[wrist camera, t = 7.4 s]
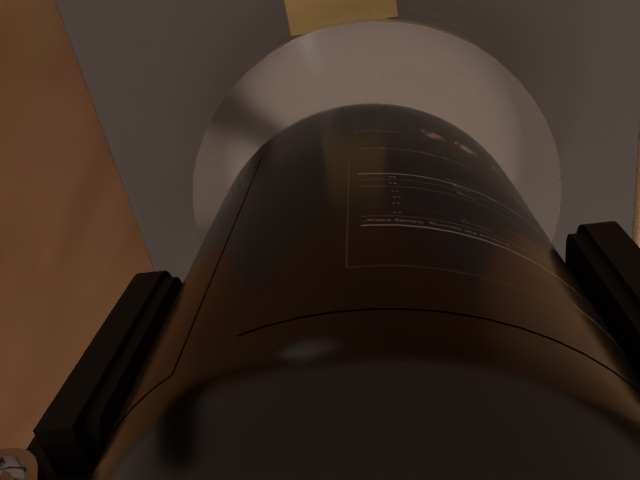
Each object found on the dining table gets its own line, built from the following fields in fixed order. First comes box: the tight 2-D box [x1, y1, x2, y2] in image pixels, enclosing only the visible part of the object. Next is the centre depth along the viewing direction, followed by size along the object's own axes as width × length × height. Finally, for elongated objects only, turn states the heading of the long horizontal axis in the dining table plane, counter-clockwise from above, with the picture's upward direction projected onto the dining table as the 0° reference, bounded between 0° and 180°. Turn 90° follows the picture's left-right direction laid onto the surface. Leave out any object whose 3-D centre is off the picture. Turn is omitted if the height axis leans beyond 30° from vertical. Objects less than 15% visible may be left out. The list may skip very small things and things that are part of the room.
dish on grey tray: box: [55, 0, 640, 284], centre depth 16 cm, size 14×14×3 cm
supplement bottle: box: [90, 103, 640, 480], centre depth 8 cm, size 7×7×12 cm
